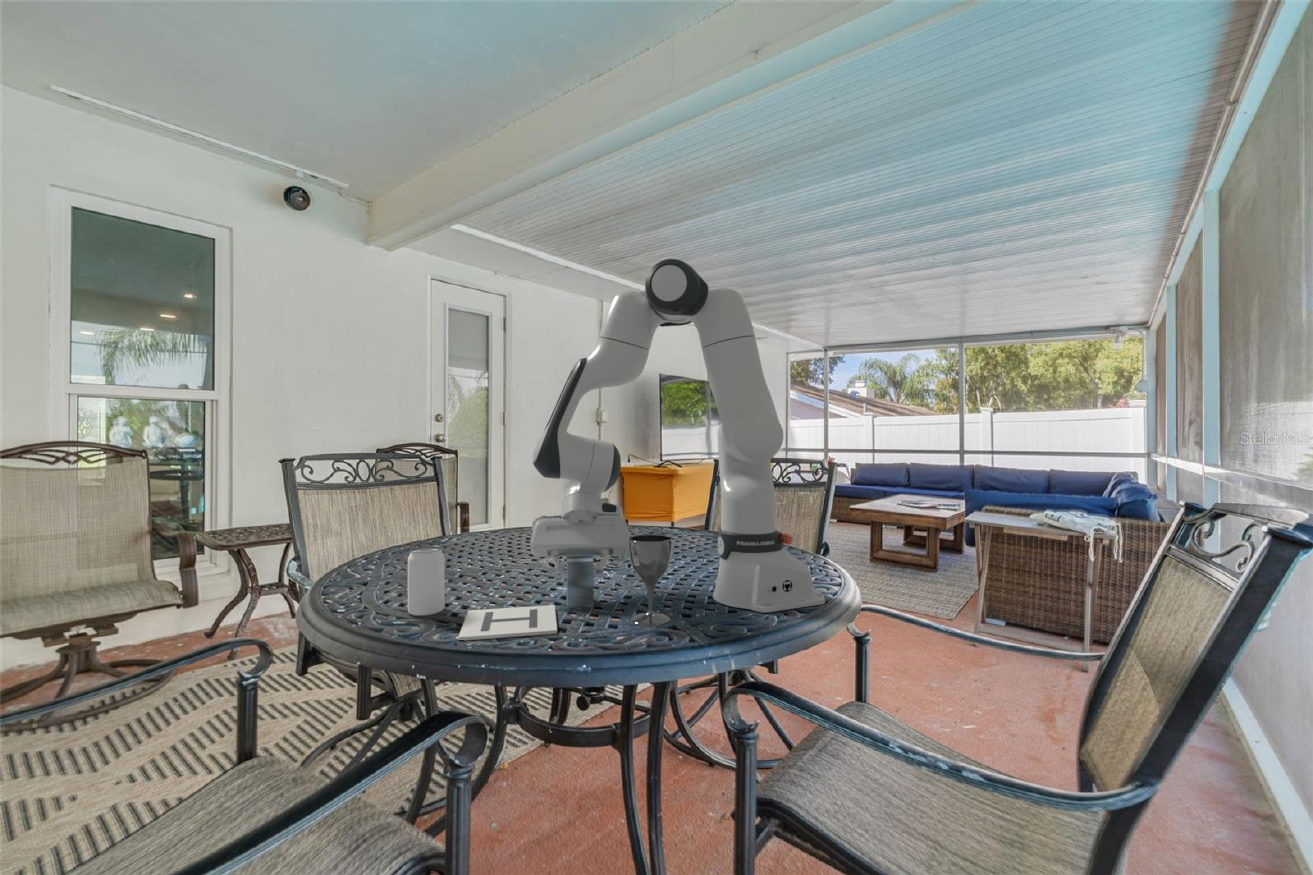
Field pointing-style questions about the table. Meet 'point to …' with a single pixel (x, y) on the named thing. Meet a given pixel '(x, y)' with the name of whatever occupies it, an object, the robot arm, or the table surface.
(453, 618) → the table surface
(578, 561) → the slate block
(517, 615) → the letter board
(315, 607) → the table surface
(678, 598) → the table surface
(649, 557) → the wine glass
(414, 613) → the can
